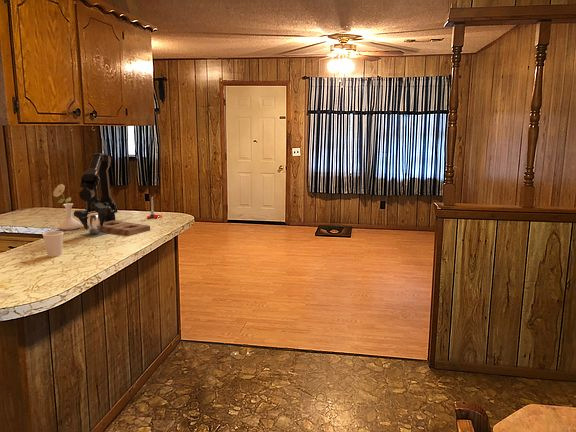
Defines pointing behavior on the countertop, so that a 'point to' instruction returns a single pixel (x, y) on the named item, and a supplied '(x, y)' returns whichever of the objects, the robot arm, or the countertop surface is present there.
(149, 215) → the tow hook
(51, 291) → the countertop surface
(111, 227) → the hole block
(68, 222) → the flower in vase
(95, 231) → the steel peg
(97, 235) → the rubber mat
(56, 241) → the dixie cup
